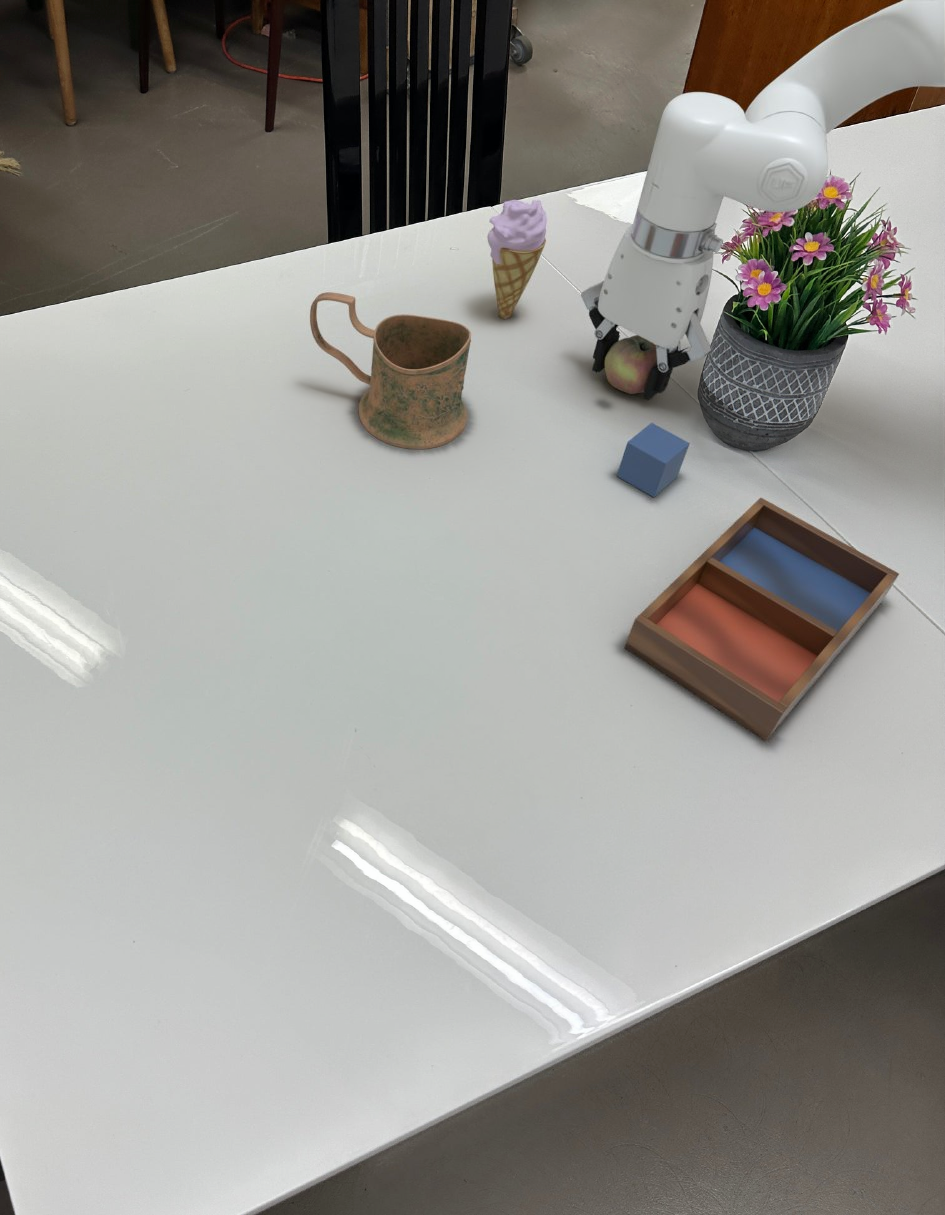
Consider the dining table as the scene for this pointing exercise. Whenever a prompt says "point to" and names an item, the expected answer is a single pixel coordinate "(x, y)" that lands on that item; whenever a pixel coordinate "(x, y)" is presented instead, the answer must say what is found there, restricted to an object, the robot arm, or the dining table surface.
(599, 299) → the robot arm
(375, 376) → the mug
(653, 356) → the apple
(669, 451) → the blue block
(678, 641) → the sorting tray
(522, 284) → the ice cream cone
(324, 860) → the dining table surface
